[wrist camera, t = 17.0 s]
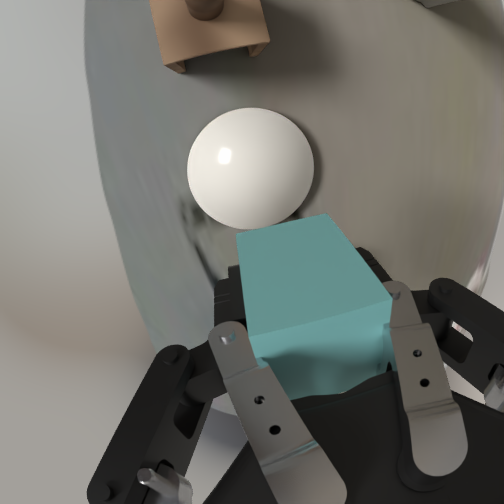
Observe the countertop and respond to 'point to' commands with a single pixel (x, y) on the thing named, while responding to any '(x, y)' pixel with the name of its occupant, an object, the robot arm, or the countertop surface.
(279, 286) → the block
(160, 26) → the brown forked piece
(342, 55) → the countertop surface
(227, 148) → the saucer
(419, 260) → the countertop surface
